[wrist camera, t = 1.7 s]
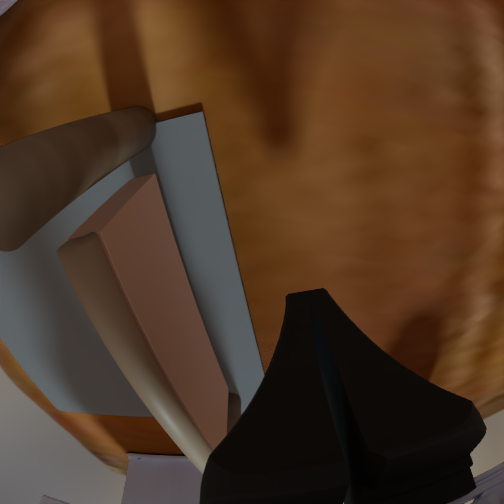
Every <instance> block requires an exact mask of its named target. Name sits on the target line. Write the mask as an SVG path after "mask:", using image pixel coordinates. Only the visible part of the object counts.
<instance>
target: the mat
mask: <svg viewBox="0 0 504 504" xmlns="http://www.w3.org/2000/svg"><path fill="white" fill-rule="evenodd" d="M154 173H155V174H156V178H157V181H158V185H159V188H160V192H161V195H162V199H163V202H164V206H165V209H166V212H167V216H168V219H169V222H170V226H171V229H172V232H173V235H174V238H175V242H176V245H177V248H178V251H179V254H180V257H181V260H182V263H183V266H184V269H185V272H186V275H187V278H188V281H189V284H190V287H191V290H192V293H193V296H194V299H195V302H196V304H197V307H198V310H199V313H200V316H201V318H202V321H203V324H204V327H205V329H206V332H207V335H208V337H209V340H210V343H211V345H212V348H213V351H214V353H215V356H216V359H217V361H218V364H219V366H220V369H221V371H222V374H223V376H224V379H225V381H226V384H227V386H228V389H229V390H228V392H230V393H234V394H236V395H238V396H239V397H240V398H241V414H242V413H243V412H244V411H245V409H246V408H247V406H248V405H249V403H250V402H251V400H252V398H253V397H254V395H255V393H256V391H257V389H258V387H259V386H260V384H261V382H262V380H263V378H264V376H265V373H264V369H263V365H262V361H261V357H260V353H259V349H258V345H257V341H256V337H255V333H254V329H253V325H252V321H251V317H250V312H249V308H248V304H247V300H246V296H245V292H244V287H243V283H242V279H241V275H240V271H239V266H238V262H237V258H236V254H235V249H234V245H233V241H232V237H231V232H230V228H229V224H228V219H227V215H226V210H225V206H224V202H223V197H222V193H221V188H220V184H219V180H218V175H217V171H216V166H215V162H214V157H213V153H212V148H211V144H210V139H209V134H208V130H207V125H206V121H205V116H204V111H202V112H198V113H193V114H189V115H185V116H181V117H177V118H173V119H169V120H165V121H162V122H158V123H156V135H155V138H154V140H153V142H152V143H151V145H150V146H149V147H148V148H146V149H145V150H143V151H142V152H140V153H139V154H137V155H136V156H134V157H133V158H131V159H130V160H128V161H127V162H125V163H124V164H123V165H121V166H120V167H118V168H117V169H115V170H114V171H113V172H111V173H110V174H108V175H107V176H106V177H104V178H103V179H102V180H100V181H99V182H98V183H96V184H95V185H94V186H92V187H91V188H90V189H88V190H87V191H86V192H84V193H83V194H82V195H80V196H79V197H78V198H77V199H75V200H74V201H73V202H72V203H70V204H69V205H68V206H67V207H65V208H64V209H63V210H62V211H61V212H59V213H58V214H57V215H56V216H55V217H53V218H52V219H51V220H50V221H49V222H48V223H46V224H45V225H44V226H43V227H42V228H41V229H39V230H38V231H37V232H36V233H35V234H34V235H33V236H32V237H31V238H29V239H28V240H27V241H26V242H25V243H24V244H23V245H22V246H21V247H20V248H18V249H16V250H14V251H10V252H4V251H0V338H1V339H2V341H3V342H4V344H5V345H6V346H7V348H8V349H9V351H10V352H11V353H12V355H13V356H14V357H15V359H16V360H17V361H18V363H19V364H20V365H21V367H22V368H23V369H24V371H25V372H26V373H27V374H28V376H29V377H30V378H31V379H32V381H33V382H34V383H35V384H36V385H37V387H38V388H39V389H40V390H41V391H42V392H43V394H44V395H45V396H46V397H47V398H48V399H49V400H50V402H51V403H52V404H53V405H54V406H55V407H56V408H57V409H58V410H60V411H68V412H77V413H87V414H99V415H113V416H134V417H154V416H153V415H152V413H151V412H150V411H149V409H148V408H147V407H146V405H145V404H144V402H143V401H142V400H141V398H140V397H139V396H138V394H137V393H136V391H135V390H134V388H133V387H132V386H131V384H130V383H129V381H128V380H127V378H126V377H125V375H124V374H123V372H122V371H121V369H120V368H119V366H118V365H117V363H116V362H115V360H114V358H113V357H112V355H111V354H110V352H109V351H108V349H107V347H106V346H105V344H104V342H103V341H102V339H101V337H100V336H99V334H98V332H97V331H96V329H95V327H94V325H93V324H92V322H91V320H90V318H89V316H88V315H87V313H86V311H85V309H84V307H83V305H82V304H81V302H80V300H79V298H78V296H77V294H76V292H75V290H74V288H73V286H72V284H71V282H70V280H69V278H68V276H67V274H66V272H65V270H64V268H63V266H62V264H61V261H60V259H59V257H58V255H57V250H58V248H59V247H60V246H61V245H62V244H64V243H65V242H66V240H67V239H68V238H69V237H70V236H71V235H72V234H73V233H74V232H75V231H76V230H77V229H78V228H79V227H80V226H81V225H82V224H83V223H84V222H85V221H86V220H87V219H88V218H89V217H90V216H91V215H92V214H93V213H94V212H95V211H96V210H97V209H98V208H99V207H100V206H101V205H102V204H103V203H104V202H106V201H107V200H108V199H109V198H110V197H111V196H112V195H113V194H114V193H115V192H116V191H118V190H119V189H120V188H121V187H122V186H123V185H124V184H125V183H127V182H128V181H129V180H131V179H134V178H138V177H142V176H146V175H150V174H154Z"/></svg>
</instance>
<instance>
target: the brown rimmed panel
mask: <svg viewBox="0 0 504 504" xmlns="http://www.w3.org/2000/svg"><path fill="white" fill-rule="evenodd" d="M57 255H58V257H59V259H60V261H61V264H62V266H63V268H64V270H65V272H66V274H67V276H68V278H69V280H70V282H71V284H72V286H73V288H74V290H75V292H76V294H77V296H78V298H79V300H80V302H81V304H82V305H83V307H84V309H85V311H86V313H87V315H88V316H89V318H90V320H91V322H92V324H93V325H94V327H95V329H96V331H97V332H98V334H99V336H100V337H101V339H102V341H103V342H104V344H105V346H106V347H107V349H108V351H109V352H110V354H111V355H112V357H113V358H114V360H115V362H116V363H117V365H118V366H119V368H120V369H121V371H122V372H123V374H124V375H125V377H126V378H127V380H128V381H129V383H130V384H131V386H132V387H133V388H134V390H135V391H136V393H137V394H138V396H139V397H140V398H141V400H142V401H143V402H144V404H145V405H146V407H147V408H148V409H149V411H150V412H151V413H152V415H153V416H154V417H155V418H156V420H157V421H158V422H159V424H160V425H161V426H162V427H163V429H164V430H165V431H166V432H167V434H168V435H169V436H170V437H171V439H172V440H173V441H174V442H175V443H176V445H177V446H178V447H179V448H180V449H181V451H182V452H183V453H184V454H185V455H186V456H187V457H188V459H189V460H190V461H191V462H192V463H193V464H194V465H195V466H196V468H197V469H198V470H199V471H200V472H201V473H202V474H203V472H204V469H205V466H206V463H207V460H208V457H209V455H210V454H211V453H212V451H213V450H214V449H215V448H216V447H217V446H218V445H219V443H220V442H221V441H222V440H223V439H224V438H225V436H226V435H227V414H228V390H229V389H228V386H227V384H226V381H225V379H224V376H223V374H222V371H221V369H220V366H219V364H218V361H217V359H216V356H215V353H214V351H213V348H212V345H211V343H210V340H209V337H208V335H207V332H206V329H205V327H204V324H203V321H202V318H201V316H200V313H199V310H198V307H197V304H196V302H195V299H194V296H193V293H192V290H191V287H190V284H189V281H188V278H187V275H186V272H185V269H184V266H183V263H182V260H181V257H180V254H179V251H178V248H177V245H176V242H175V238H174V235H173V232H172V229H171V226H170V222H169V219H168V216H167V212H166V209H165V206H164V202H163V199H162V195H161V192H160V188H159V185H158V181H157V178H156V174H155V173H154V174H150V175H146V176H142V177H138V178H134V179H131V180H129V181H128V182H127V183H125V184H124V185H123V186H122V187H121V188H120V189H119V190H118V191H116V192H115V193H114V194H113V195H112V196H111V197H110V198H109V199H108V200H107V201H106V202H104V203H103V204H102V205H101V206H100V207H99V208H98V209H97V210H96V211H95V212H94V213H93V214H92V215H91V216H90V217H89V218H88V219H87V220H86V221H85V222H84V223H83V224H82V225H81V226H80V227H79V228H78V229H77V230H76V231H75V232H74V233H73V234H72V235H71V236H70V237H69V238H68V239H67V240H66V242H65V243H64V244H62V245H61V246H60V247H59V248H58V250H57Z"/></svg>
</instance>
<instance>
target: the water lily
mask: <svg viewBox="0 0 504 504" xmlns="http://www.w3.org/2000/svg"><path fill="white" fill-rule="evenodd" d="M16 1H17V0H0V16H1V15H2V14H3V13H4V12H6V11H7V10H8V9H9V8H10V7H11V6H12V5H13V4H14V3H15V2H16Z"/></svg>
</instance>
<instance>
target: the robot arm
mask: <svg viewBox="0 0 504 504" xmlns="http://www.w3.org/2000/svg"><path fill="white" fill-rule="evenodd" d="M486 429H487V428H486V426H485V424H484V421H483V419H482V417H481V415H480V413H479V412H478V410H477V409H476V407H475V406H474V404H473V403H472V401H470V400H468V399H466V398H463V397H461V396H458V395H456V394H454V393H451V392H449V391H446V390H444V389H442V388H440V387H438V386H436V385H434V384H432V383H430V382H429V381H427V380H425V379H424V378H422V377H420V376H419V375H417V374H416V373H414V372H412V371H411V370H409V369H407V368H406V367H404V366H403V365H402V364H400V363H399V362H397V361H396V360H395V359H393V358H392V357H391V356H389V355H388V354H387V353H386V352H384V351H383V350H382V349H381V348H379V347H378V346H377V345H376V344H375V343H374V342H373V341H371V340H370V339H369V338H368V337H367V336H366V335H365V334H364V333H363V332H362V331H361V330H360V329H359V328H358V327H357V326H356V325H355V324H354V323H353V322H352V321H351V320H350V319H349V317H348V316H347V315H346V314H345V313H344V312H343V311H342V310H341V308H340V307H339V306H338V305H337V304H336V302H335V301H334V300H333V299H332V297H331V296H330V294H329V293H328V292H327V290H325V289H324V288H321V289H315V290H309V291H303V292H297V293H291V294H288V295H287V296H286V308H285V315H284V321H283V325H282V329H281V333H280V337H279V340H278V343H277V346H276V349H275V352H274V354H273V357H272V360H271V362H270V365H269V367H268V369H267V372H266V374H265V376H264V378H263V380H262V382H261V384H260V386H259V387H258V389H257V391H256V393H255V395H254V397H253V398H252V400H251V402H250V403H249V405H248V406H247V408H246V409H245V411H244V412H243V414H242V415H241V417H240V418H239V419H238V421H237V422H236V424H235V425H234V426H233V428H232V429H231V430H230V432H229V433H228V434H227V435H226V436H225V438H224V439H223V440H222V441H221V442H220V443H219V445H218V446H217V447H216V448H215V449H214V450H213V451H212V453H211V454H210V455H209V457H208V460H207V463H206V466H205V469H204V472H203V474H202V473H201V472H200V471H199V470H198V469H197V468H196V466H195V465H194V464H193V463H192V462H191V461H190V460H189V459H188V457H187V456H164V455H146V454H134V453H128V454H127V457H128V458H129V459H130V461H129V466H128V471H127V476H126V481H125V486H124V492H123V497H122V503H121V504H343V503H344V504H464V503H466V502H468V501H471V500H473V499H474V501H473V503H471V504H504V462H503V463H501V464H499V465H497V466H496V467H494V468H492V469H490V470H488V471H486V472H484V473H482V474H480V475H478V476H477V477H474V478H473V475H472V472H471V469H470V467H471V466H472V465H473V462H472V459H471V456H470V453H471V452H472V451H473V450H474V448H475V447H476V446H477V445H478V444H479V443H480V442H481V440H482V439H483V437H484V436H485V433H486ZM40 504H69V503H66V502H63V501H60V500H57V499H54V498H51V497H49V496H46V495H43V496H42V497H41V501H40Z"/></svg>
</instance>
